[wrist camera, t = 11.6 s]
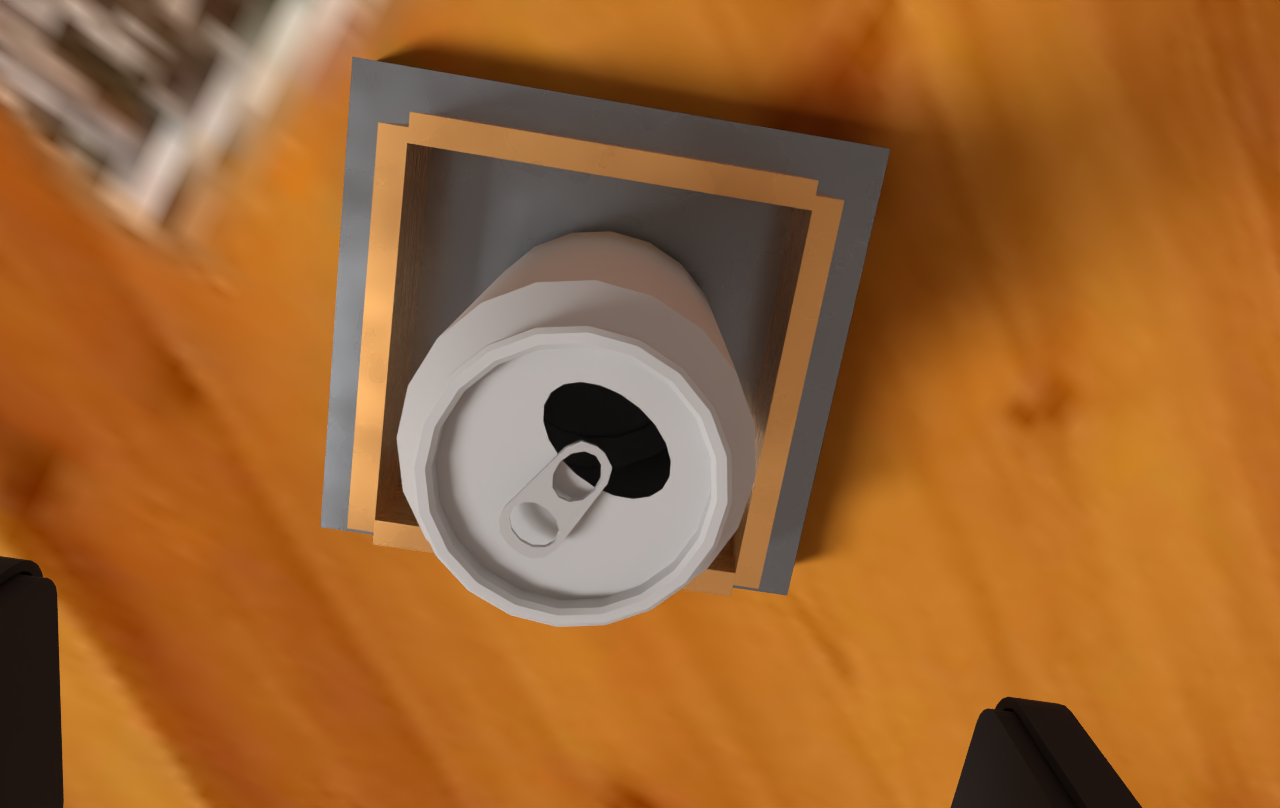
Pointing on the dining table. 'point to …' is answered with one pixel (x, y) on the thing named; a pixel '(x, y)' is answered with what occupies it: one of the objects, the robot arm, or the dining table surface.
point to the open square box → (590, 202)
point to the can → (579, 435)
